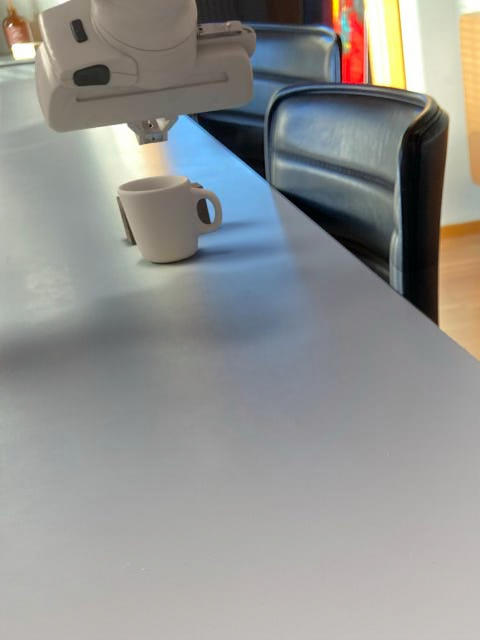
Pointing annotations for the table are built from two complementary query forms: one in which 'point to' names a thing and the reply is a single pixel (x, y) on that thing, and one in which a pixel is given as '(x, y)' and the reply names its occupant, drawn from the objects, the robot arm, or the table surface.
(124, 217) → the stop strip
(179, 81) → the robot arm
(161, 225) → the cup
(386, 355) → the table surface
